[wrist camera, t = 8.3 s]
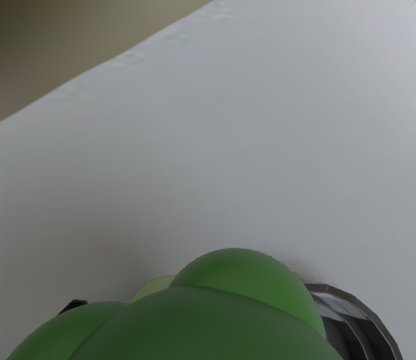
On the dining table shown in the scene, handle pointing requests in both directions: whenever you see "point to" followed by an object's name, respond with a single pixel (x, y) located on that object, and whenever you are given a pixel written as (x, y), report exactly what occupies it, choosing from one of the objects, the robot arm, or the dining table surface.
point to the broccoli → (194, 318)
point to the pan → (352, 325)
